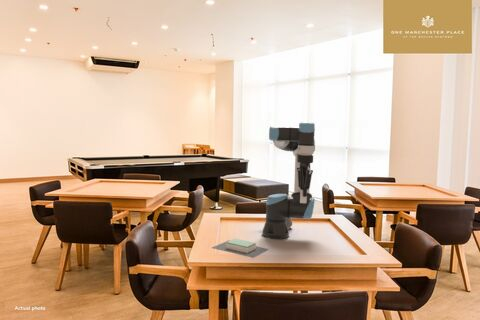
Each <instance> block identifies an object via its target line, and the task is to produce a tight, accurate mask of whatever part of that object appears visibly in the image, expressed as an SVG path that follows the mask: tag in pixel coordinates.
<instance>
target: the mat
mask: <svg viewBox="0 0 480 320" xmlns="http://www.w3.org/2000/svg"><path fill="white" fill-rule="evenodd" d="M228 241H231V240H227V241H224V242H222V243H219V244H217V245H214V246H212V247H211V249H214V250H215V249H216V250H218V251H221V252H222V251H223V252H226V253H227V252H228V253H232V254H236V255H240V256H244V257H249V258H252V259H254V258H257V257H258V256H260V255H262V254H264V253H265V252H267V251H269V250H270V248H266V247H263V246H257V245H256V249H254V250H252V251H250V252H248V253H245V252H241V251H237V250H232V249H228V248H226V246H227V242H228Z"/></svg>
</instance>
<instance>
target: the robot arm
mask: <svg viewBox="0 0 480 320" xmlns="http://www.w3.org/2000/svg"><path fill="white" fill-rule="evenodd" d="M315 124H316V123H314V122H306V121H305V122H302V121H301V122H299V123H298V126H287V125H286V126H285V125H284V126H282V125H272V126H269V131H268V139H269V141H272V143H273V144H274V147H276V148H277V149H279V150H282V151H285V152H292V155H293V156H295V157H294V158H295V161H294V183H293V184H294V185H293V186H294V187H293V188H294V189H293V192H292V193H291V194H290V195H291V196H288V194H287V193H275V194H274V193H273V194H270V195H269V196H267V197H266V203H265V205H267V207H265V209H266V210H265V222H264V226H263V228H262V232H261V235H262V236H263V237H265V238H268V239H279V240H280V239H287V238H289V236H290V231H289V229H288V227H287V223H286V219H287V218H291V219H298V220H299V219H300V220H301V219H302V220H309V219H312V217H313V214H314V213H313V212H314V207H315V198H313V194H312V193H310V188H311V181H312V176H313V172H314V170H312V169H311V164H313V163H314V153H315V151H316V141H315V130H316V127H315Z"/></svg>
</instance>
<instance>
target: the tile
mask: <svg viewBox="0 0 480 320" xmlns="http://www.w3.org/2000/svg"><path fill="white" fill-rule="evenodd" d="M227 241H228V242H227V246H226V248H228V249H232V250H237V251H241V252H245V253H248V252H250V251H252V250H254V249H256V246H257V243H256V242H253V241H248V240H244V239H239V238H233V239H231V240H230V241H229V240H227Z"/></svg>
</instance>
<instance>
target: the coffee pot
mask: <svg viewBox="0 0 480 320" xmlns="http://www.w3.org/2000/svg"><path fill="white" fill-rule="evenodd" d="M260 205H261V206H263V207H265V208H266V207H267V205H266V204H264V203H262V202H259V204H258V206H260ZM286 223H287V227H288V230H289V229H290V228H291V227H292V226H293V221H292V218H287V219H286Z"/></svg>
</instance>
